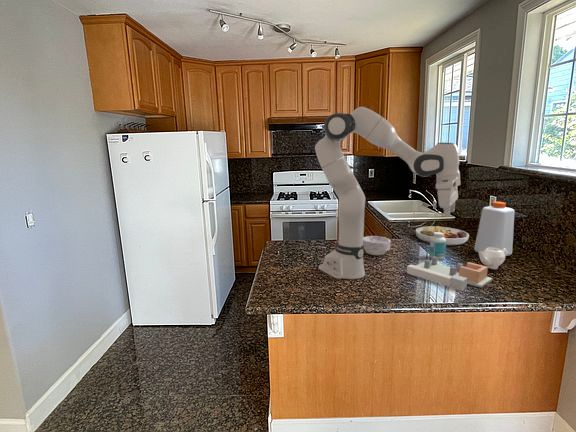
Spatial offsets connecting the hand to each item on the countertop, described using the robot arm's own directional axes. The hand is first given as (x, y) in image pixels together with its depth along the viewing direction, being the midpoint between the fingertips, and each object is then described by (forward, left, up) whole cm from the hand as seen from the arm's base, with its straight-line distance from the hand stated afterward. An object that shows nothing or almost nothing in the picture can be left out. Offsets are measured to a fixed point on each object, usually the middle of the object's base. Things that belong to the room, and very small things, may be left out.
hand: (449, 214), depth 144 cm
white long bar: (-2, -3, -30) cm, 30 cm away
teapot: (+8, +33, -30) cm, 45 cm away
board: (-1, +10, -30) cm, 31 cm away
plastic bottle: (0, +57, -30) cm, 64 cm away
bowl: (-31, +62, -30) cm, 75 cm away
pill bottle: (-16, +26, -30) cm, 42 cm away
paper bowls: (-42, +9, -30) cm, 52 cm away
